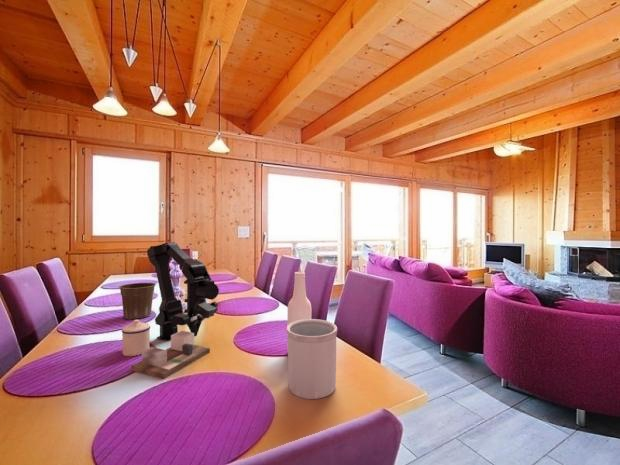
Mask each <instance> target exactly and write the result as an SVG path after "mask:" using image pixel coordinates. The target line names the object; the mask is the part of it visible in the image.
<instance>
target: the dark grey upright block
mask: <svg viewBox="0 0 620 465" xmlns="http://www.w3.org/2000/svg"><path fill="white" fill-rule="evenodd" d="M182 354H185V355H191V354H192V345H188V344H184V345H182Z"/></svg>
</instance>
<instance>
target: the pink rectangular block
mask: <svg viewBox="0 0 620 465" xmlns="http://www.w3.org/2000/svg"><path fill="white" fill-rule="evenodd" d="M184 344H188V345H192V350H195V346H196V345H195V336H194V333H192V332H191V331H185V330H180V331H178V332H177V333H175V334H173V335H171V340H170V347H171V349H174V350H179V351H182V345H184Z"/></svg>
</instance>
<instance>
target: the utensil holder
mask: <svg viewBox="0 0 620 465" xmlns="http://www.w3.org/2000/svg"><path fill="white" fill-rule="evenodd" d="M286 335H288V352H287V370H288V371H287V372H288V374H287V375H288V388H289V391H290V392H291V393H292V394H293V395H295V396H296V397H299V398H302V399H306V400H317V399H323V398H325V397H328V396H330V395H331V394H333V392H334V391H335V389H336V382H337V381H336V380H337V379H336V377H337V376H336V375H337V335H338V327H337V325H336V324H335V323H333V322H331V321H328V320H324V319H319V318H318V319H315V318H311V319H305V320H298V321H295V322H292V323H290V324H289V325H288V326H286Z"/></svg>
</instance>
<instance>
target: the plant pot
mask: <svg viewBox="0 0 620 465" xmlns="http://www.w3.org/2000/svg"><path fill="white" fill-rule="evenodd" d="M155 286H156V283H154V282H135V283H134V282H133V283H127V284H126V283H125V284H121V285H119V286H118V288H119V289H120V295H121V300H122V313H123V314H122V315H123V318H124V319H125V318H126V320H136V319H139V318H140V319H144V318H143V317H145V318H147V317H146V316H148V317H150V316H152V307H153V298H154V297H153V296H154V292H155ZM149 315H150V316H149Z"/></svg>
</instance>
